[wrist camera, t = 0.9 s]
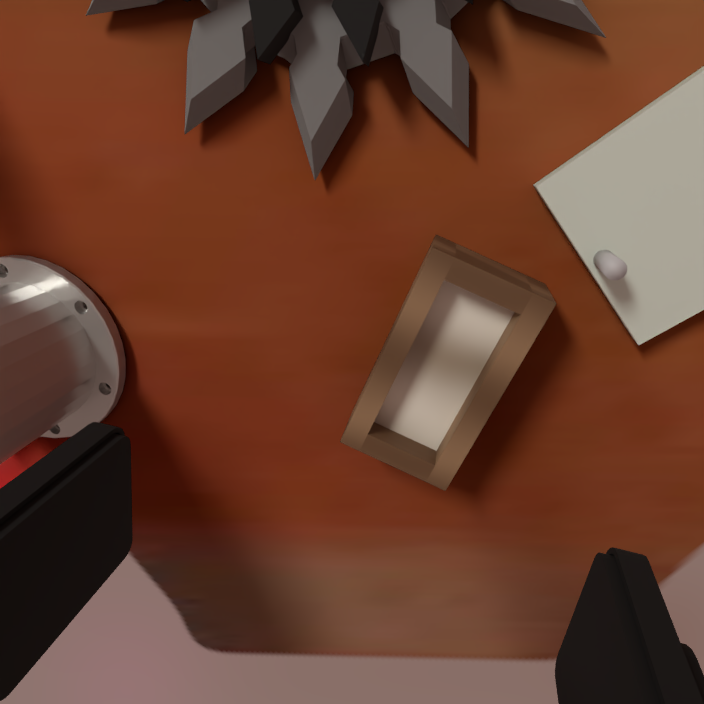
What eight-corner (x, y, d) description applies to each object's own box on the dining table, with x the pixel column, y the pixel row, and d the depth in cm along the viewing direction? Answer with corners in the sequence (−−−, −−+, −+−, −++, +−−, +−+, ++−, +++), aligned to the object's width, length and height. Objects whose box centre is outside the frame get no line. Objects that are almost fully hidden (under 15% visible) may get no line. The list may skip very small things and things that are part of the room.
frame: (447, 454, 35) (445, 490, 32) (352, 410, 36) (340, 441, 32) (545, 283, 31) (556, 303, 27) (435, 234, 31) (432, 247, 27)
